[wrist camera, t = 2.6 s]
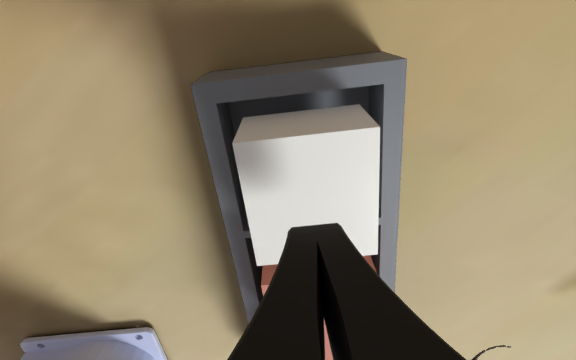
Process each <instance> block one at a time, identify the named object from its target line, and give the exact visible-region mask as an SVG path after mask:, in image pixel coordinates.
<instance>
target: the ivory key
mask: <svg viewBox="0 0 576 360" xmlns="http://www.w3.org/2000/svg"><path fill="white" fill-rule="evenodd" d="M232 145H233V150H234V155H235V160H236V164H237V169H238V174H239V179H240V184H241V189H242V194H243V199H244V204H245V209H246V214H247V219H248V224H249V229H250V234H251V238H252V243H253V248H254V253H255V258H256V263H257V266H263V265H274V264H278V263H279V260H280V257H281V255H282V252H283V249H284V246H285V243H286V239H287V234H288V231H289V230H290V229H291V228H292V227H299V226H310V225H320V224H330V223H338V224H339V225H341V226H342V228H343V230H344V231H345V233H346V234H347V236H348V237H349V239H350V240H351V242H352V243H353V244H354V246H355V247H356V248H357V250H358V251H359V252H360V254H361V255H362V256H367V255H377V254H378V217H379V165H380V126H379V125H378V124H377V123H376V122H375V121H374V120H373V118H372V117H371V116H370V115H369V114H368V113H367V112H366V111H365V110H364V109H363V108H362V107H361V105H360V104H355V105H347V106H338V107H329V108H321V109H312V110H303V111H294V112H286V113H277V114H268V115H260V116H251V117H243V119H242V121H241V124H240V126H239V128H238V131H237V133H236V136H235V138H234V140H233V143H232Z"/></svg>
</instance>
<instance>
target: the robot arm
mask: <svg viewBox="0 0 576 360" xmlns="http://www.w3.org/2000/svg"><path fill="white" fill-rule="evenodd" d="M324 320H325V325H326V330H327V334H328V339H329V343H330V348H331V352H332V356H333V360H466V359H465V358H464V357H462V356H461V355H460V354H459V353H458V352H457V351H455V350H454V349H453V348H452V347H451V346H449V345H448V344H447V343H446V342H445V341H444V340H443V339H442V338H441V337H439V336H438V335H437V334H436V333H435V332H434V331H433V330H432V329H431V328H429V327H428V326H427V325H426V324H425V323H424V322H423V321H422V320H421V319H420V318H419V317H418V316H417V315H416V314H415V313H414V312H413V311H412V310H411V309H410V308H409V307H408V306H407V305H406V304H405V303H404V302H403V301H402V300H401V299H400V298H399V297H398V296H397V295H396V294H395V293H394V292H393V291H392V290H391V289H390V287H389V286H388V285H387V284H386V283H385V282H384V281H383V280H382V279H381V277H380V276H379V275H378V274H377V273H376V272H375V270H374V269H373V268H372V267H371V266H370V265H369V263H368V262H367V261H366V260H365V259H364V257H363V256H362V255H361V254H360V252H359V251H358V250H357V248H356V247H355V246H354V244H353V243H352V242H351V240H350V239H349V237H348V236H347V234H346V233H345V231H344V230H343V228H342V226H341V225H339V224H338V223H330V224H320V225H310V226H299V227H292V228H291V229H290V230H289V231H288V234H287V239H286V243H285V246H284V249H283V252H282V255H281V257H280V260H279V263H278V265H277V267H276V270H275V272H274V274H273V277H272V279H271V281H270V284H269V286H268V288H267V290H266V292H265V294H264V296H263V298H262V300H261V302H260V304H259V306H258V308H257V310H256V312H255V314H254V316H253V317H252V319H251V321H250V323H249V325H248V326H247V328H246V330H245V332H244V333H243V335H242V337H241V338H240V340H239V342H238V343H237V345H236V347H235V348H234V350H233V351H232V353H231V355H230V356H229V358H228V359H227V360H325V335H324ZM20 347H21V349H22V350H23V351H24V353H25V354H24V355H23V356H22V357H21V359H20V360H167V358H166V355H165V353H164V351H163V349H162V346H161V344H160V342H159V340H158V337H157V335H156V333H155V331H154V330H153V329H152V328H149V327H143V328H132V329H121V330H110V331H98V332H87V333H76V334H65V335H54V336H43V337H32V338H25V339H24V340H23V341H22V342H21V343H20Z"/></svg>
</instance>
